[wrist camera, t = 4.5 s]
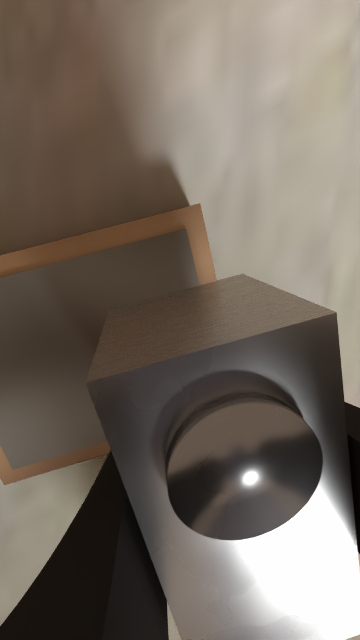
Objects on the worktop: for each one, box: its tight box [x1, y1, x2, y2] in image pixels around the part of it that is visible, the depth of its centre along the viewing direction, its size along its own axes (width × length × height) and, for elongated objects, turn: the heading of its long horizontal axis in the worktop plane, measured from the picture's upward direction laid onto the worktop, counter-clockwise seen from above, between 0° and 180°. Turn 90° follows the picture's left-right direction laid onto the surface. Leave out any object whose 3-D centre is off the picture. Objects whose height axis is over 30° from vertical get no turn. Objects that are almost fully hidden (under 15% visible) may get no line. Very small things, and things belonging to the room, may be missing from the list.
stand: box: [0, 204, 217, 485], centre depth 15 cm, size 10×12×2 cm
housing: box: [86, 274, 360, 640], centre depth 8 cm, size 8×4×5 cm, turn 14°
